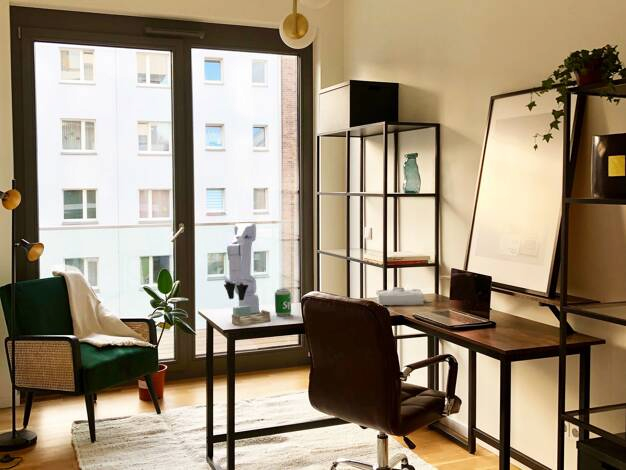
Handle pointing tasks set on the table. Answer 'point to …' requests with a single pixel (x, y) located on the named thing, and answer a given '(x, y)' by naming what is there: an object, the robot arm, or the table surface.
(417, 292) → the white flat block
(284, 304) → the soda can
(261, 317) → the track sill
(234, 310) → the door panel
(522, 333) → the table surface
